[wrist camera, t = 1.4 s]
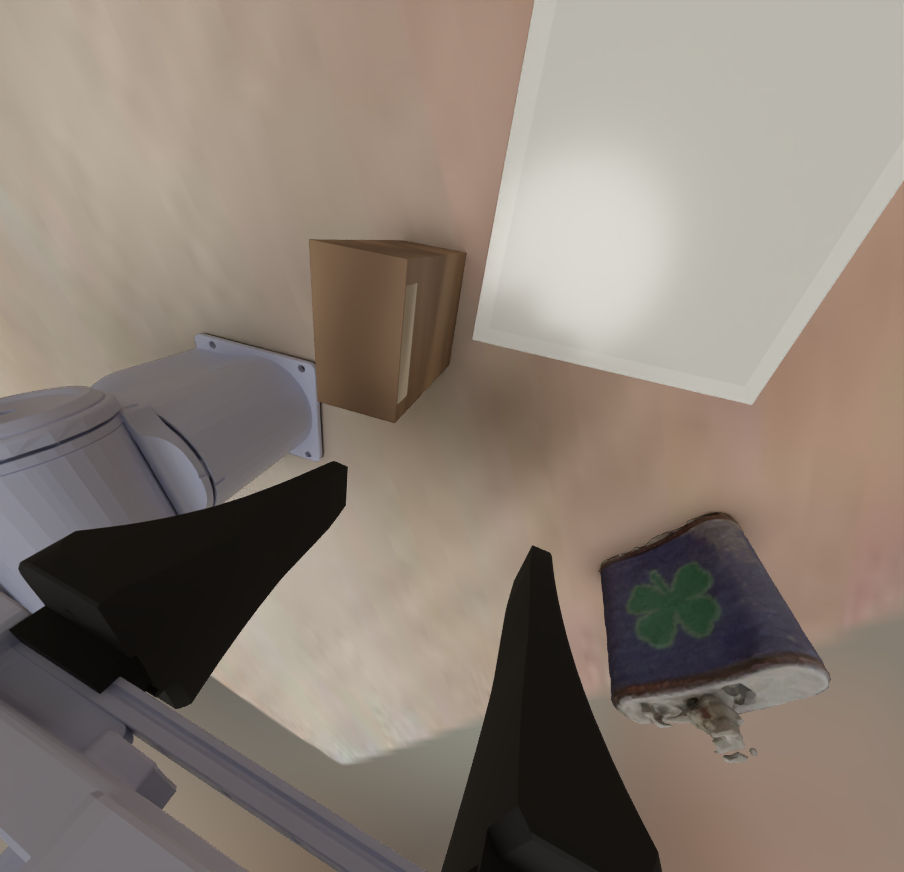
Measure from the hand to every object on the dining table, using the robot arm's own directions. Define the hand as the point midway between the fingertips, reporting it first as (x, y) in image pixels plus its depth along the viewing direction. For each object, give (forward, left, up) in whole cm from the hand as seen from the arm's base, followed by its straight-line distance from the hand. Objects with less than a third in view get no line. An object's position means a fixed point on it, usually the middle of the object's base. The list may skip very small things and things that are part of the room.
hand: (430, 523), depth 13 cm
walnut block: (-4, +5, -11) cm, 13 cm away
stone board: (+6, +11, -11) cm, 16 cm away
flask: (+14, -7, -11) cm, 19 cm away
